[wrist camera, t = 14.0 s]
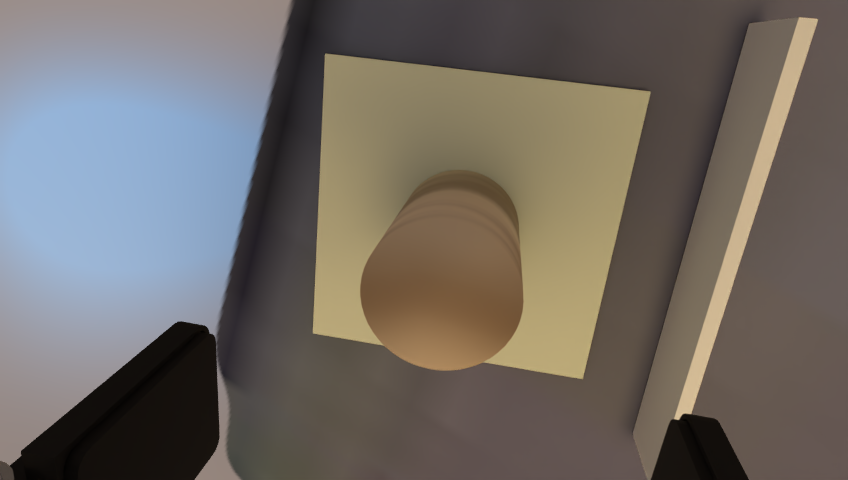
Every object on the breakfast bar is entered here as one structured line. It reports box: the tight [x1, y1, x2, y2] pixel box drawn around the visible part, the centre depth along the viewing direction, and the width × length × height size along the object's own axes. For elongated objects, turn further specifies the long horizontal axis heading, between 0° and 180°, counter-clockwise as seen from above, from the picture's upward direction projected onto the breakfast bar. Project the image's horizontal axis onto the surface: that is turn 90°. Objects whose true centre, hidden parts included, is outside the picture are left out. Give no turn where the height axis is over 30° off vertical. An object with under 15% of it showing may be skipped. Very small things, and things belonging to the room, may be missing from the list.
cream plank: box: [632, 17, 818, 480], centre depth 23 cm, size 20×1×4 cm, turn 174°
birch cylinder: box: [360, 170, 524, 370], centre depth 22 cm, size 6×6×8 cm
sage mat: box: [313, 54, 651, 379], centre depth 26 cm, size 14×14×1 cm
